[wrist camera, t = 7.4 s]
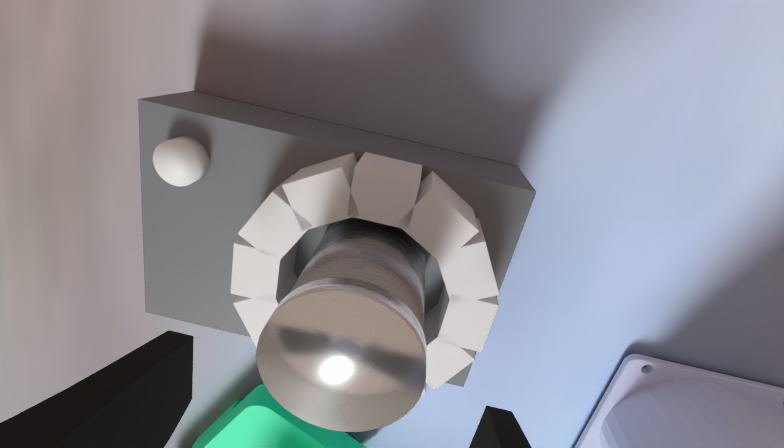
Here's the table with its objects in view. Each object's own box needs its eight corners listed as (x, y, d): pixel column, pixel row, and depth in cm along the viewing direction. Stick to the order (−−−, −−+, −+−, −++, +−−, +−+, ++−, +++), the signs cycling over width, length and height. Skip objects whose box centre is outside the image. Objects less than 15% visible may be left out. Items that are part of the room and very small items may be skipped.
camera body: (516, 166, 17) (551, 212, 12) (458, 335, 21) (466, 425, 16) (193, 90, 17) (93, 105, 12) (190, 272, 21) (112, 342, 16)
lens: (444, 225, 15) (451, 327, 9) (408, 316, 16) (396, 450, 11) (333, 190, 15) (272, 272, 9) (308, 285, 16) (244, 404, 11)
